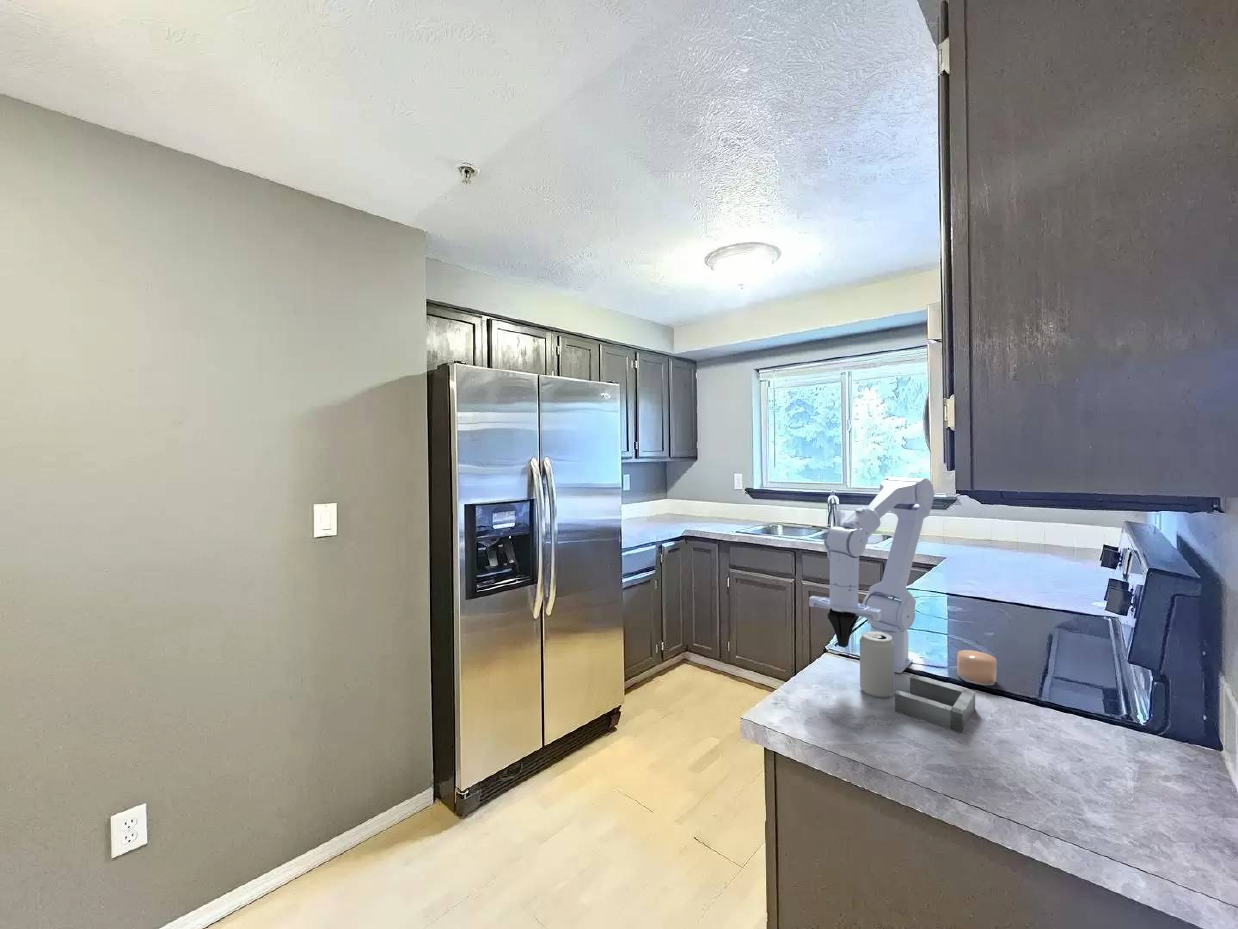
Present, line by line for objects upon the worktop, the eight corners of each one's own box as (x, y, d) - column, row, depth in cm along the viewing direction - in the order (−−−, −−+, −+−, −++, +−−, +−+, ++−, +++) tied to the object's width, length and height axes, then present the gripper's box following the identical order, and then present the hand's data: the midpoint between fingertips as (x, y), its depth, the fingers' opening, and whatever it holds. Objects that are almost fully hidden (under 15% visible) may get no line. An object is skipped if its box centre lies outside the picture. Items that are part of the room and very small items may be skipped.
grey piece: (912, 690, 108) (912, 674, 108) (975, 709, 101) (975, 691, 101) (894, 711, 100) (895, 693, 100) (961, 733, 93) (962, 714, 93)
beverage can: (891, 703, 104) (891, 643, 103) (856, 694, 107) (856, 637, 107) (896, 690, 109) (896, 633, 108) (863, 682, 112) (863, 627, 112)
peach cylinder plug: (960, 669, 119) (961, 647, 118) (998, 678, 114) (999, 656, 114) (953, 679, 114) (954, 656, 113) (992, 689, 109) (993, 666, 108)
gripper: (803, 580, 114) (802, 641, 115) (873, 594, 104) (872, 661, 105) (816, 574, 119) (816, 633, 120) (884, 586, 109) (883, 650, 110)
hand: (843, 645), depth 112 cm, fingers closed
